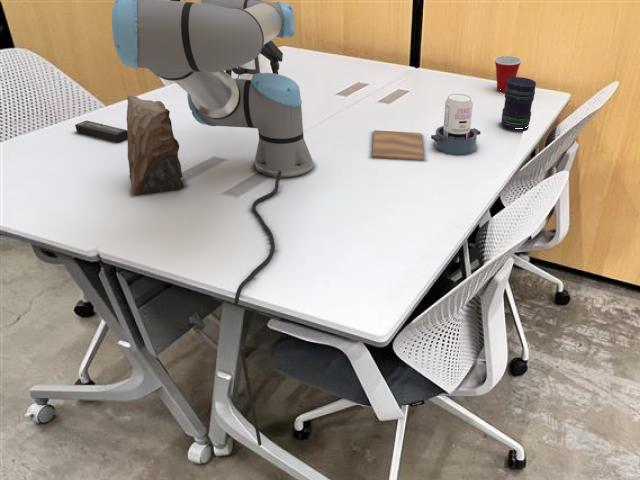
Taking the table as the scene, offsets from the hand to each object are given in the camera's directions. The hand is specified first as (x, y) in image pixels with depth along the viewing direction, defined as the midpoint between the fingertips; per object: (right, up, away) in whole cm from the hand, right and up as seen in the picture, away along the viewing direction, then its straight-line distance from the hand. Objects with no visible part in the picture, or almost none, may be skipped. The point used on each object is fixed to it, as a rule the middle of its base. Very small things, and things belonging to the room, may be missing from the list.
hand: (253, 75), depth 173 cm
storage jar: (+81, -5, +29) cm, 86 cm away
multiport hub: (-41, -20, -5) cm, 46 cm away
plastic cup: (+80, +21, +60) cm, 102 cm away
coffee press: (-13, +15, +40) cm, 45 cm away
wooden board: (+42, -19, +7) cm, 47 cm away
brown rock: (-16, -39, -26) cm, 50 cm away
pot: (+60, -18, +10) cm, 63 cm away
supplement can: (+60, -18, +10) cm, 63 cm away
